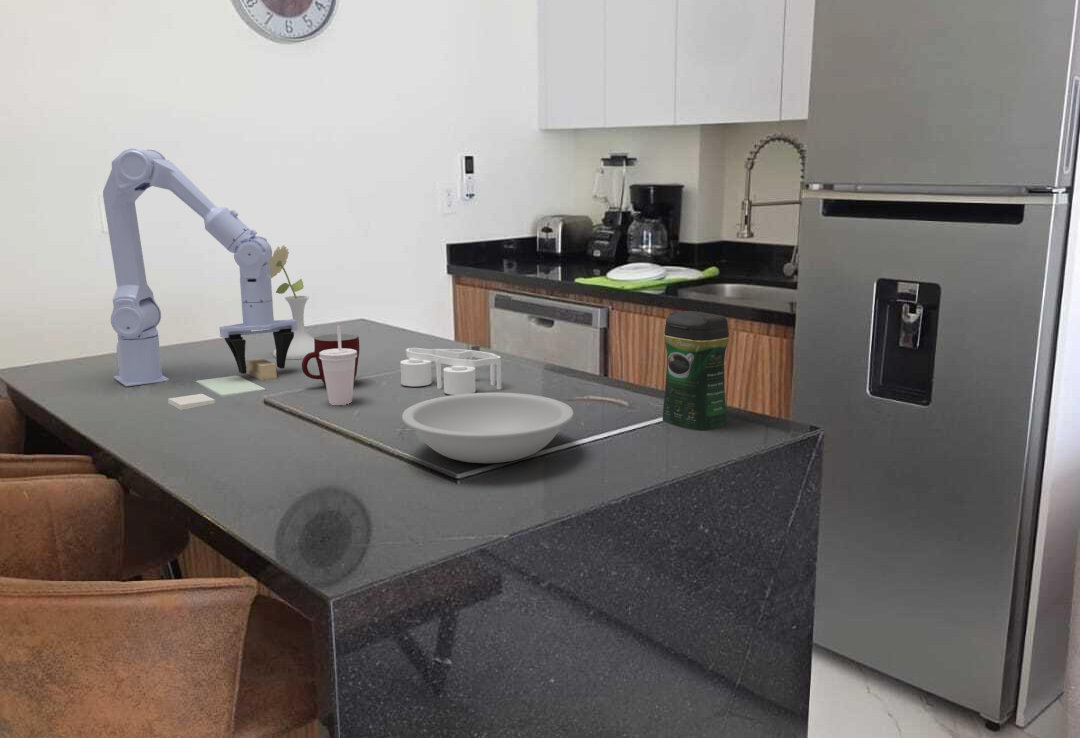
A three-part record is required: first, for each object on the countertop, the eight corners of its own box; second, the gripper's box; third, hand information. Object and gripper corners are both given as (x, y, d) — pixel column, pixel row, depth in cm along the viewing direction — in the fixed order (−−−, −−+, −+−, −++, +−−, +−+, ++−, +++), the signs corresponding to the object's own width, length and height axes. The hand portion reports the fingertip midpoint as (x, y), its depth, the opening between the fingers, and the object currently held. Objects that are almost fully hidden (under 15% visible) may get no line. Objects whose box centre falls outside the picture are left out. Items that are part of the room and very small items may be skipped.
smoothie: (367, 404, 163) (363, 325, 161) (344, 412, 158) (340, 330, 155) (337, 400, 166) (333, 322, 163) (314, 408, 160) (309, 328, 157)
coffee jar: (734, 432, 145) (739, 313, 141) (699, 441, 140) (703, 318, 136) (688, 419, 152) (691, 306, 148) (653, 427, 147) (656, 310, 144)
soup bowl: (512, 495, 117) (511, 444, 115) (367, 465, 129) (365, 419, 128) (603, 448, 137) (604, 404, 135) (470, 426, 149) (469, 385, 148)
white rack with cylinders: (389, 391, 174) (387, 352, 173) (431, 380, 182) (430, 343, 181) (467, 407, 162) (466, 365, 160) (509, 395, 170) (508, 355, 169)
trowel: (242, 379, 185) (241, 360, 184) (267, 375, 187) (266, 357, 187) (271, 392, 173) (269, 372, 172) (296, 389, 176) (295, 369, 175)
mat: (196, 384, 179) (195, 380, 179) (237, 379, 184) (237, 375, 184) (222, 399, 167) (222, 395, 167) (265, 393, 172) (265, 388, 172)
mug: (311, 398, 168) (308, 343, 166) (298, 390, 174) (295, 337, 172) (367, 391, 173) (365, 338, 171) (352, 383, 180) (349, 332, 178)
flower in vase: (303, 353, 210) (297, 241, 205) (338, 359, 203) (332, 243, 198) (255, 363, 200) (247, 245, 195) (290, 369, 193) (283, 247, 188)
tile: (168, 398, 164) (180, 404, 160) (202, 393, 168) (215, 399, 164) (168, 406, 164) (181, 412, 160) (202, 400, 168) (215, 407, 164)
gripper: (226, 306, 172) (232, 378, 175) (301, 299, 181) (305, 368, 184) (213, 302, 178) (219, 372, 181) (287, 296, 186) (291, 363, 189)
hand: (262, 370), depth 182 cm, fingers open, 7 cm apart
